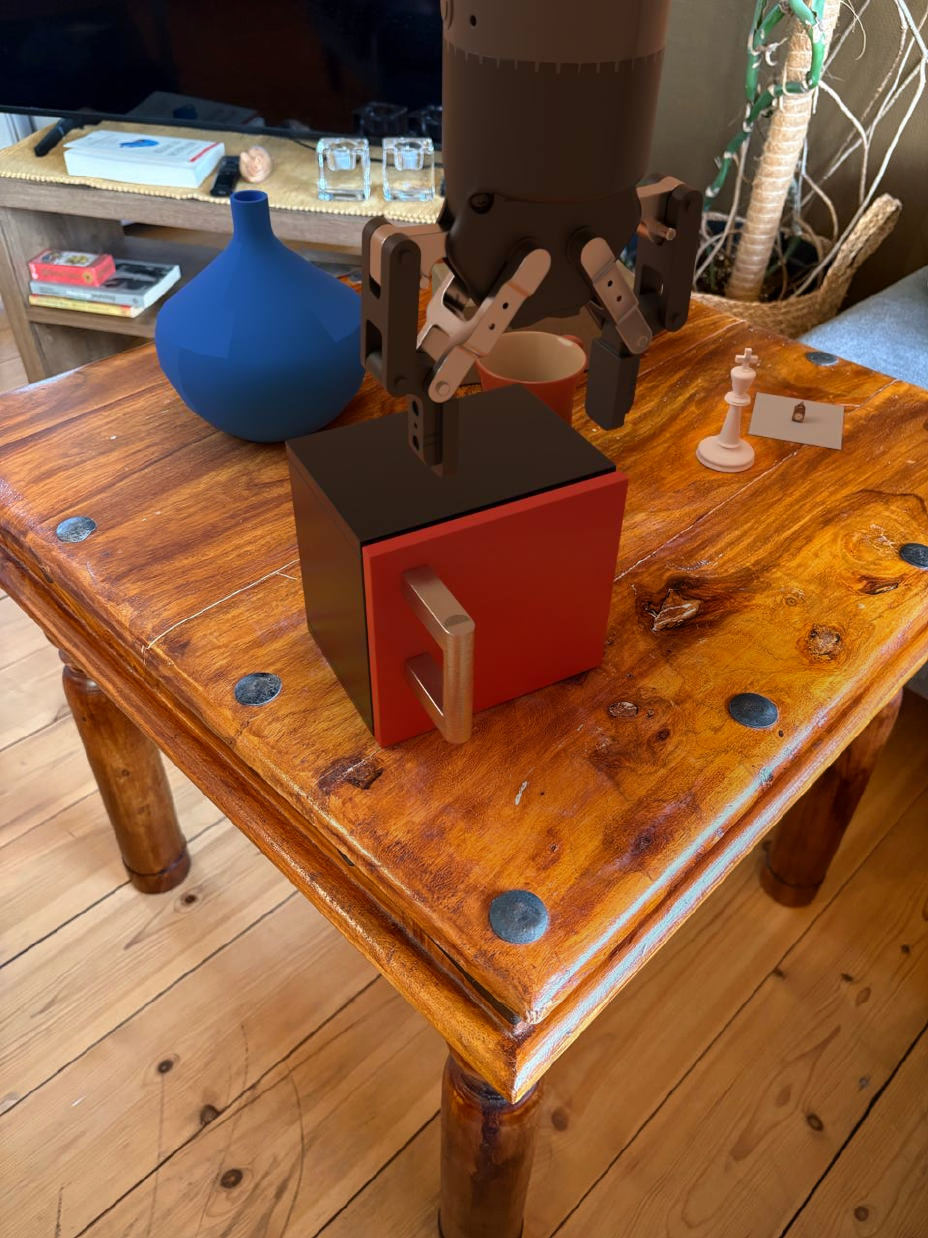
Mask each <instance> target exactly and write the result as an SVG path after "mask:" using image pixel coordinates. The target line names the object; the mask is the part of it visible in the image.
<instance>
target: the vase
mask: <svg viewBox="0 0 928 1238" xmlns="http://www.w3.org/2000/svg"><path fill="white" fill-rule="evenodd" d="M229 203H230V211H231V217H232V218H231V219H232V225H233V231H232V238H231V239H230V241H229V243H228V244H227V246H226V248H225V249H224V250H223V251H222V252H221V253H219V254H218V255H217V256H216V258H214V259H213V260H212V261H211V262H210V263H208V264H207V266H206V267H204V268H203V269H202V270H201V271H200V272H199V273H198V274H197V275H196V276H194V278H192V279H191V280H190V281H189V282H188V283H186V284H185V285H184V286H182V287H181V289H179V290H178V291H177V292H176V293H174V294H172V295H171V297H169V299H167V300H166V301H165V302H164V303H163V305H162V306H161V308H160V310H159V311H158V313H157V317H156V322H155V328H154V346H155V350H156V354H157V358H158V363H159V367H160V368H161V370H162V372H163V373H164V375H165V377H166V378H167V380H168V381H169V383H170V384H171V386H172V387H173V388H174V390H175V391H176V392H177V394H178V396H179V397H180V398H181V400H182V401H183V403H184V404H185V406H186V407H187V408H188V409H190V410H191V411H193V412H194V413H195V414H196V415H198V417H201V419H203V420H204V421H205V422H207V423H208V424H209V425H211V426H212V427H213V428H215V429H217V430H219V431H221V432H223V433H227V434H229V435H232V436H234V437H236V438H238V439H241V440H246V441H251V442H257V443H280V442H285V441H286V440H290V439H294V438H298V437H302V436H307V435H311V434H315V433H317V432H318V431H319V430H320V429H322V428H323V427H325V426H327V425H328V424H329V423H331V422H332V421H334V420H336V419H337V418H338V417H340V415H341V414H342V412H343V411H344V410H345V408H346V407H347V406H348V405H349V404H350V402H351V401H352V400H353V399H354V397H355V396H356V395H357V393H358V392H360V389H361V387H362V384H363V381H364V379H365V376H366V373H367V372H368V371H367V370H366V369H365V368H364V367H363V366H362V364H361V294H359V293H358V292H357V291H356V290H355V289H354V288H353V287H352V286H350V285H348V284H346V283H345V282H344V281H342V280H340V279H339V278H337V277H334V276H333V275H331V274H330V273H328V272H326V271H324V270H323V269H322V268H320V267H318V266H316V265H315V264H313V263H312V262H310V261H308V259H305V258H304V257H303V256H301V255H300V254H299V253H297V252H295V251H293V250H292V249H291V248H289V247H288V246H286V245H284V244H283V242H282V241H281V240H280V239H279V238H278V237H277V236H276V235H275V234H274V229H273V228H272V222H271V220H272V219H271V213H270V204H269V196H268V193H267V192H265V191H263V190H257V189H243V190H238V191H235V192H233V193H231V194H230V195H229Z"/></svg>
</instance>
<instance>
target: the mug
mask: <svg viewBox="0 0 928 1238" xmlns="http://www.w3.org/2000/svg"><path fill="white" fill-rule="evenodd" d="M475 363H476V366H477V370H478V373H479V376H480V380H481V383H480V384H481V392H483V391H487V390H491V389H495V388H499V387H503V386H507V385H511V384H515V383H521V384H523V385H524V386H525V387H526V388H527V389H528V390H530V391H531V392H532V393H533V394H534V395H535V396H537V397H538V398H539V399H540V400H541V401H542V402H543V403H545V404H546V405H547V406H548V407H549V408H550V409H552V410H553V411H554V412H555V413H556V414H557V415H559V416H560V417H561V418H562V419H563V420H564V421H566V422H567V423H568V424H569V425H570V426H571V427H573V409H574V400H575V399H574V398H575V395H576V391H577V388H578V386H579V383H580V381H581V379H582V376H583V374H584V373H585V371H586V370H585V368H586V365H587V356H586V354H585V352H584V346H583V342H582V340H581V339H580V338H578V337H576V336H573V335H568V334H566V335H562V336H558V335H554V334H550V333H545V332H538V331H519V332H509V333H504V334H502V335H501V337H500V338H499V340H498V341H497V343H496V344H495V346H494V348H493V349H492V351H491V352H490V353H489V354H488V355H487V356H485V357H483V358H478V359H476V360H475ZM584 370H585V371H584Z"/></svg>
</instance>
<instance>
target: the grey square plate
mask: <svg viewBox="0 0 928 1238" xmlns="http://www.w3.org/2000/svg"><path fill="white" fill-rule="evenodd" d="M844 413H845V406H844V405H837V404H833V403H826V402H820V401H813V400H806V399H801V398H795V397H789V396H783V395H775V394H769V393H764V392H758V391H756V395H755V399H754V405H753V410H752V414H751V419H750V423H749V427H748V428H749V429H748V433H747V435H752V436H758V437H764V438H770V439H775V440H781V441H788V442H793V443H798V444H804V445H811V446H816V447H823V448H827V449H828V448H829V449H833V450H840V451H842V444H843V443H842V442H843V431H844V430H843V428H844Z"/></svg>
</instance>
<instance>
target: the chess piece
mask: <svg viewBox="0 0 928 1238" xmlns="http://www.w3.org/2000/svg"><path fill="white" fill-rule="evenodd" d="M752 353H753V350H752V347H745V348H744V354H736V355H735V358H734V361H735V363H737V364H741V365H738V366H735V367H733V368H732V369H730V378H731V387H732V390H731V391H728V392H726V394H725V396H724V401H725V402H726V403H727V404H729V408H728V411H727V414H726V417H725V419H724V422H723V425H722V427H721V430H720V433H719V434H716V435H711V436H707V437H705V438H703V439H702V440H701V441H700V442H699V444H698V445H697V448H696V451H695V456H696V459H697V460H698V461H699V462H700V463H701V464H702V465H704V466H705V467H706V468H709V469H711V470H714V471H718V472H722V473H740V472H744V471H747V470H749V469H750V468H751V467H752V466H753V465H754V463H755V454H756V453H755V450H754V448H753V447H752V445H750V444H749V443H748V442H747V441H745V440H743V439H742V438H741V437H740V434H741V433H740V431H741V420H742V412H743V411H742V410H743V407H745V406H748V405H750V404H751V402H752V398H751V396H750V394H748V393H747V392H748V390H749V389H750V387H751V385H752V383H753V382H754V381H755V379H756V377H757V372H756V371H755V370H754V369H753V368H751V367H750V364H758V361H759V356H758V355H753V354H752Z"/></svg>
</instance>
